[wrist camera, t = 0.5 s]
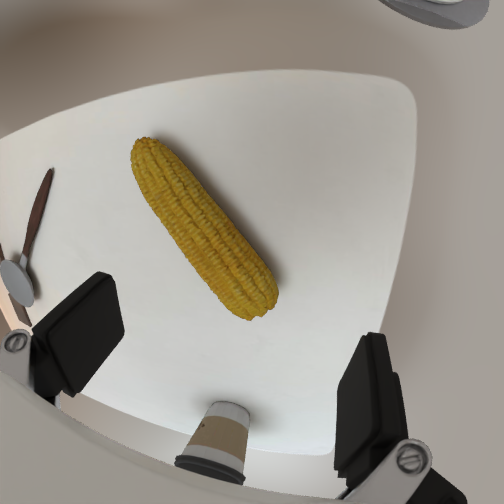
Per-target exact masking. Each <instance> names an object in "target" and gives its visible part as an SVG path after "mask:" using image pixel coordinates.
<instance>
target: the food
mask: <svg viewBox="0 0 504 504" xmlns="http://www.w3.org/2000/svg"><path fill="white" fill-rule="evenodd" d="M130 160H131V162H132V164H131V167H132V171H133V174H134V176H135V179H136V181H137V183H138V185H139V188H140V190H141V192H142V194H143V196H144V197H145V199H146V201H147V203H149V206H150V207H152V210H153V211H154V213H155V214H156V215H157V216H158V217H159V219H160V220H161V223H163V225H164V226H165V227H166V229H167V230H168V232H169V234H170V235H171V236H172V238H173V239H174V240H175V242H176V244H177V245H178V247H179V248H180V249H181V250H182V252H183V253H184V255H185V257H186V258H188V260H189V262H190V263H191V264H192V266H193V267H194V268H195V269H196V272H197V273H198V274H199V275H200V276H201V278H202V279H203V280H204V281H205V282H206V283H207V284H208V286H209V287H210V289H211V290H212V291H213V293H215V294H216V295H217V296H218V299H220V302H222V303H223V304H224V305H225V307H226V308H227V309H228V310H230V311H231V312H232V313H233V314H234V315H236V316H238V317H240V318H243V319H246V320H247V321H251V320H252V319H253V318H254V317H255V316H259V317H262V316H263V315H265V314H266V313H267V311H268V310H272V309H273V308H274V307H275V304H276V303H277V299H278V295H279V291H278V287H277V283H276V281H275V279H274V277H273V275H272V274H271V271H270V270H269V269H268V267H267V266H266V265H265V264H264V262H263V260H261V258H260V257H259V256H258V255H257V253H256V252H255V251H254V250H253V248H252V247H251V246H250V244H249V243H248V242H247V241H246V239H245V238H244V237H243V236H242V235H241V234H240V233H239V231H238V229H236V228H235V226H234V225H233V223H232V221H231V220H230V219H229V218H228V217H227V215H226V214H225V213H224V212H223V210H222V209H220V208H219V205H217V204H216V203H215V201H214V200H213V199H212V198H211V197H210V196H209V195H208V194H207V192H206V191H205V189H204V187H201V184H200V183H199V181H198V180H197V179H196V178H195V177H194V175H193V174H192V173H191V171H190V170H189V169H188V168H187V167H186V166H185V165H184V164H183V163H182V161H181V160H179V158H178V157H177V156H176V155H175V154H174V153H172V151H171V150H170V149H169V148H167V147H166V146H165V145H163V144H161V143H160V142H159V141H158V140H156V139H153V140H152V139H150V137H148V138H146V137H142V139H140V140H139V139H137V140H136V141H135V144H134V145H133V149H132V151H131V159H130Z"/></svg>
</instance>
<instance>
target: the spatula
mask: <svg viewBox="0 0 504 504" xmlns="http://www.w3.org/2000/svg"><path fill="white" fill-rule="evenodd" d="M3 260H5V259H4V256H3V253H2V249H1V245H0V264H1V262H2V261H3ZM8 295H9V297H10V300H11V302H12V305H13V307H14V310H15V312H16V314H17V316H18V319H19V320H20V321H21V322H23V323H24V324H26V325H28V326H29V327H31V326H32V324H31V322H30V319H29V317H28V315H27V312H26V310H25V307H24V306H23V305H21V304H20V303H18V302H17V301H16V300H15V299H14V298H13V297H12V296H11V294H10V293H9V294H8Z"/></svg>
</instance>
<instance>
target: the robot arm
mask: <svg viewBox="0 0 504 504" xmlns="http://www.w3.org/2000/svg"><path fill="white" fill-rule="evenodd" d="M427 1H431V2H435V3H439V4H456V3H459V2H461V1H463V0H427ZM32 332H33V335H32V336H31V335H30V333H29V332H28V331H27V330H24V329H16V330H13V331H11V332H9V333H8V334H7V335H6V336H5V337H4V338H3V340H2V342H1V346H0V504H467V499H466V497H465V495H464V494H463V493H462V492H461V491H460V490H458V489H457V488H456V487H455V486H453V485H452V484H451V483H450V482H448V481H447V480H446V479H445V478H443V477H442V476H441V475H440V474H438V473H437V472H436V471H435V470H434V469H432V468H431V465H432V454H431V451H430V449H429V448H428V446H427V445H425V444H424V442H422V441H420V440H416V439H409V438H408V430H407V423H406V415H405V409H404V403H403V397H402V390H401V385H400V380H399V376H398V374H397V373H396V372H393V371H392V366H391V361H390V356H389V351H388V346H387V342H386V337H385V335H384V334H380V333H373V332H368V334H367V335H366V336H365V335H363V336H362V337H361V339H360V341H359V343H358V345H357V348H356V350H355V352H354V354H353V356H352V358H351V360H350V362H349V364H348V366H347V369H346V371H345V373H344V375H343V377H342V379H341V380H340V382H339V385H338V390H337V420H336V442H335V458H334V470H338V478H346V486H347V488H346V489H345V490H344V491H343V492H342V493H341V494H340V495H339V496H337V497H336V498H335V499H327V498H319V497H309V496H300V495H292V494H285V493H279V492H273V491H267V490H262V489H256V488H251V487H246V486H242V485H237V484H233V483H229V482H225V481H221V480H217V479H214V478H210V477H207V476H203V475H200V474H197V473H193V472H190V471H187V470H184V469H181V468H178V467H176V466H173V465H170V464H167V463H165V462H162V461H159V460H157V459H154V458H152V457H149V456H147V455H145V454H142V453H140V452H138V451H135V450H133V449H131V448H129V447H126V446H125V445H122V444H120V443H118V442H116V441H114V440H112V439H110V438H108V437H106V436H104V435H102V434H100V433H99V432H97V431H95V430H93V429H91V428H89V427H88V426H86V425H84V424H82V423H81V422H79V421H77V420H76V419H74V418H72V417H71V416H69V415H67V414H66V413H64V412H63V411H61V409H60V395H59V393H60V391H61V390H63V392H64V393H66V394H67V395H69V396H71V397H74V396H75V395H76V393H80V392H81V391H82V390H83V388H84V387H85V386H86V384H87V383H88V382H89V380H90V379H91V378H92V376H93V375H94V374H95V373H96V371H97V370H98V369H99V367H100V366H101V365H102V363H103V362H104V361H105V360H106V358H107V357H108V356H109V355H110V353H111V352H112V351H113V349H114V348H115V347H116V346H117V344H118V343H119V342H120V341H121V339H122V338H123V336H124V332H125V330H124V325H123V321H122V316H121V311H120V306H119V301H118V296H117V290H116V284H115V281H114V280H113V278H112V276H111V275H110V274H106V273H103V272H100V271H99V272H96V273H95V274H93V275H92V276H91V277H90V278H89V279H87V280H86V281H85V282H84V283H83V284H81V285H80V286H79V287H78V288H77V289H76V290H74V291H73V292H72V293H71V294H70V295H69V296H67V297H66V298H65V299H64V300H63V301H62V302H61V303H59V304H58V305H57V306H56V307H55V308H54V309H53V310H52V311H50V312H49V313H48V314H47V315H46V316H45V317H44V318H43V319H42V320H41V321H40V322H38V323H37V324H36V325H35V326H34V327H33V328H32Z"/></svg>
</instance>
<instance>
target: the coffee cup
mask: <svg viewBox="0 0 504 504" xmlns="http://www.w3.org/2000/svg"><path fill="white" fill-rule="evenodd" d="M249 423H250V419H249V413H248V412H247V411H246V410H245V409H244V408H243V407H241V406H239V405H237V404H234V403H230V402H223V401H221V402H215V403H213V404H212V406H211V407H210V408H209V409H208V411H207V413H206V414H205V416H204V418H203V419H202V421H201V423H200V424H199V426H198V428H197V429H196V431H195V433H194V434H193V436H192V438H191V439H190V441H189V443H188V444H187V446H186V448H185V449H184V451H183V453H182V454H181V455H179V456H176V458H175V459H176V461H175V463H174V464H175V466H176V467H178V468H181V469H184V470H187V471H190V472H193V473H197V474H200V475H203V476H207V477H210V478H214V479H217V480H221V481H225V482H229V483H233V484H237V485H243V482H244V481H245V478H246V477H245V476H244V475H243V469H244V462H245V454H246V446H247V438H248V431H249Z"/></svg>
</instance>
